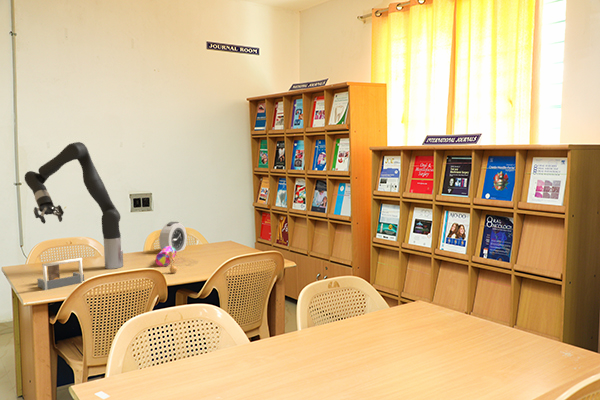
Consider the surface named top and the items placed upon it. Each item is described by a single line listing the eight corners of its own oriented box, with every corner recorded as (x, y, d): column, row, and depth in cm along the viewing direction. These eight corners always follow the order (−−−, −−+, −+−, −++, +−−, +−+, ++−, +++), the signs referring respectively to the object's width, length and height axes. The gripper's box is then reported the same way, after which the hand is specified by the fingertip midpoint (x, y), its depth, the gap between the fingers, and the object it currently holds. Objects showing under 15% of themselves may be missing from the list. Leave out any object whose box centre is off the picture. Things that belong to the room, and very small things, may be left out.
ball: (63, 281, 250) (56, 277, 249) (62, 279, 246) (55, 275, 246) (58, 288, 248) (51, 284, 247) (57, 286, 244) (50, 281, 244)
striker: (56, 280, 257) (55, 261, 256) (59, 282, 254) (58, 262, 253) (48, 282, 254) (47, 263, 253) (51, 283, 251) (50, 264, 250)
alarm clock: (169, 254, 322) (168, 224, 320) (159, 253, 325) (158, 223, 323) (187, 248, 342) (186, 220, 340) (178, 247, 344) (177, 219, 343)
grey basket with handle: (76, 279, 259) (75, 255, 258) (84, 282, 253) (83, 257, 252) (36, 286, 245) (35, 261, 244) (43, 290, 239) (42, 264, 237)
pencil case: (171, 266, 287) (171, 251, 286) (155, 267, 286) (154, 252, 285) (177, 259, 308) (176, 244, 307) (161, 259, 307) (161, 245, 306)
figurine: (167, 274, 267) (166, 252, 266) (163, 272, 271) (162, 251, 270) (182, 272, 272) (181, 250, 271) (177, 270, 277) (176, 249, 276)
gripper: (31, 196, 270) (40, 218, 264) (58, 194, 281) (67, 216, 274) (28, 205, 274) (37, 227, 268) (55, 203, 285) (64, 224, 278)
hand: (52, 221), depth 271 cm, fingers open, 8 cm apart
